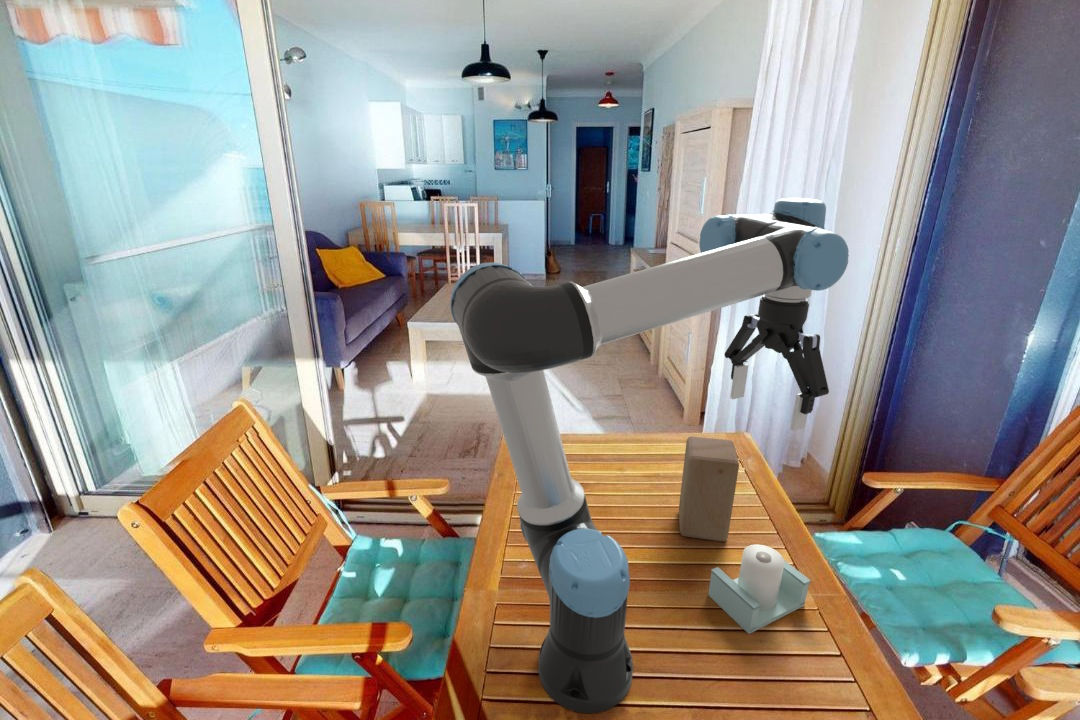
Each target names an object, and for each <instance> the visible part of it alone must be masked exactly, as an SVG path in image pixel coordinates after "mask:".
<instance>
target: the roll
mask: <svg viewBox="0 0 1080 720" xmlns="http://www.w3.org/2000/svg"><path fill="white" fill-rule="evenodd" d="M784 560H785V559H784V557H783V555H782V554H781V553H780V552H779V551H777V550H776V549H774V548H772V547H770V546H767V545H765V544H758V543H757V544H755V543H754V544H751V545H748V546H746V547H744V549H743V550H742V557H741V563H740V567H739V568H740V569H739V575H738V578H739V579H738V585H739V586H740V587H741V588H742V589H743V590H744V591H746V592H747V593H748V594H749V595H750V596H751V597H752V598H754V599H755V600H756V601H757V602H758V603H759V604H760V605H761V607H760V608H759V611H768V610H771V609H773V608H774V607H775V605H776V602H777V597H778V593H779V588H780V583H781V578H782V573H783V569H784V564H785V562H784Z"/></svg>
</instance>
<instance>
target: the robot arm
mask: <svg viewBox="0 0 1080 720" xmlns="http://www.w3.org/2000/svg"><path fill="white" fill-rule="evenodd" d="M826 214H827V206H826V204H825V203H824V202H823V201H822V200H819V199H814V198H803V197H802V198H801V197H789V198H786V197H785V198H779V199H777V200H776V201H775V203H774V207H773V209H772V212H770V213H762V214H761V213H757V214H754V213H753V214H749V213H748V214H731V213H727V214H726V215H724V214H722V215H714V216H712V217H710V218H708V219H707V220H706V221H705V223H704V224H703V226H702V228H701V230H700V234H699V243H698V244H699V250H700V251H699V252H700V253H697V254H692V255H689V256H687V257H682V258H680V259H679V258H678V259H676V260H672V261H668V262H666V263H661V264H659V265H655V266H651V267H648V268H645V269H640V270H638V271H634V272H630V273H627V274H624V275H620V276H619V275H618V276H616V277H612V278H608V279H606V280H602V281H599V282H595V283H592V284H588V285H584V286H580V285H579V284H577V283H575V282H573V281H567V282H564V283H559V284H556V285H551V286H534V285H532V284H531V282H529V281H528V280H527V279H526V278H525V276H524V275H523V274H522V273H521V272H520V271H519V270H518V269H516V268H513V267H512V266H510V265H506V264H503V263H500V262H491V261H490V262H484V263H480V264H476V265H474V266H472V267H470V268H469V269H467V270H466V271H465V272H464V273H462V274H461V275H460V276H459V278H458V279H457V280H456V282H455V283H454V285H453V287H452V291H451V294H450V312H451V315H452V318H453V320H454V322H455V323H456V325H457V326H458V329H459V332H460V335H461V338H462V342H463V344H464V348H465V351H466V354H467V356H468V360H469V363H470V366H471V369H472V370H473V372H474V373H476V374H478V375H480V376H483V377H485V379H486V383H487V386H488V388H489V392H490V395H491V399H492V402H493V405H494V409H495V411H496V414H497V418H498V422H499V425H500V428H501V431H502V433H503V437H504V440H505V444H506V446H507V450H508V454H509V456H510V461H511V464H512V467H513V469H514V472H515V476H516V479H517V483H518V486H519V488H520V491H521V494H520V495H519V497H518V500H517V502H516V504H517V505H516V510H517V513H518V517H519V522H520V530H521V533H522V535H523V538H524V540H525V541H526V542H527V545H528V547H529V550H530V553H531V554H532V558H533V560H534V562H535V564H536V568H537V570H538V572H539V576H540V577H541V580H542V582H543V585H544V587H545V590H546V592H547V593H546V594H547V595H548V601H549V629H548V632H547V634H546V637H545V638H543V639H544V640H543V641H542V643H541V646H540V647H539V648H540V649H539V653H538V676H539V680H540V683H541V686H542V688H543V689H544V690H545V692H546V694H547V695H549V696H548V697H550V698H551V699H552V700H553V701H554V702H556V703H557V704H558V705H559V706H561V707H563V708H564V709H567V710H569V711H573V712H576V713H582V714H596V713H602V712H605V711H608V710H610V709H612V708H614V707H615V706H617V705H618V704H620V702H622V701H623V700H624V698H625V697H626V696H627V694H628V693H629V691H630V689H631V687H632V686H631V685H632V680H633V672H634V664H633V663H634V662H633V657H632V654H631V650H630V647H629V644H628V641H627V639H626V636H625V629H626V618H627V617H626V616H627V605H628V594H629V591H630V585H631V584H630V578H631V577H630V576H631V575H630V570H629V561H628V557H627V555H626V552H625V551H624V549H623V547H622V546H621V544H620V543H619V542H618V541H616V540H615V538H614V537H612V536H610V535H608V534H606V535H603V531H600V530H598V529H597V527H596V526H595V524H594V522H593V520H592V517H591V512H590V510H589V506H588V502H587V499H586V494H585V491H584V488H583V486H582V485H581V484H580V483H579V482H578V481H577V480H575V479H573V478H572V477H571V472H570V468H569V463H568V461H567V456H566V451H565V448H564V445H563V442H562V437H561V433H560V430H559V426H558V422H557V421H558V420H557V418H556V414H555V410H554V406H553V403H552V398H551V394H550V390H549V387H548V383H547V379H546V375H545V370H551V369H555V368H559V367H562V366H565V365H570V364H574V363H577V362H579V361H582V360H586V359H589V358H592V357H593V358H594V356H595V354H596V351H597V350H598V348H599V347H600V346H602V345H606V344H610V343H612V342H616V341H619V340H622V339H625V338H628V337H632V336H635V335H638V334H641V333H644V332H647V331H651V330H655V329H658V328H661V327H663V326H667V325H670V324H674V323H677V322H680V321H684V320H686V319H689V318H692V317H697V316H700V315H703V314H706V313H709V312H712V311H716V310H719V309H723V308H726V307H729V306H732V305H735V304H738V303H742V302H745V301H748V300H751V299H754V298H758V297H760V298H759V306H758V311H757V313H752V314H746V315H744V316H743V319H742V323H741V327H740V328H739V329H738V332H737V333H736V334H735V336H734V338H733V339H732V341H731V342H730V344H729V346H728V347H727V349H726V351H725V352H724V357H725V358H726V359H729V360H730V362H731V364H732V365H731V372H730V379H731V380H732V382H731V388H730V389H731V390H730V395H729V396H730V399H732V400H736V399H741V398H744V396H745V391H746V384H747V378H748V371H749V366H750V365H749V364H748V360H749V359H750V358H752V357H753V356H754V355H755V354H757V353H758V352H759V351H760V350H761V349H762V348H763V347H764V348H765V349H768V350H769V349H770V350H773V351H774V352H775V353H778V354H782V357H783V358H784V359H785V360H787V364H788V365H789V368H790V370H791V372H792V374H793V377H794V379H795V381H796V383H797V385H798V388H799V391H800V393H796V397H795V401H794V407H793V411H792V417H791V422H790V428H789V429H790V431H793V432H795V431H796V432H797V431H799V430H801V429H805V428H806V425H807V420H808V415H809V414H811V413H812V412H813V410H814V405H815V400H816V398H818V397H819V398H820V397H822V396H826V395H829V393H830V389H829V384H828V381H827V376H826V371H825V368H824V364H823V359H822V355H821V350H820V348H821V347H820V346H821V335H820V334H818V333H815V334H809V333H804V329H803V327H804V325H805V323H806V322H807V317H808V313H809V307H810V304H811V303H810V301H809V298H810V297H811V296H812V292H813V291H817V292H819V291H825V290H827V289H829V288H831V287H833V286H834V285H835V284H836V283H837V282H839V281H840V280H841V278H842V277H843V275H844V274H845V272H846V270H847V267H848V264H849V257H850V256H849V251H850V250H849V247H848V244H847V241H846V240H845V239H844V238H843V237H842V236H841V235H840V234H838V233H835V232H833V231H830V230H825V223H826V222H825V221H826ZM756 329H757V331H758V334H756V336H755V337H754V338H753V339H752V340H751V342H749V343H748V341H749V339H750V338H751V337H752V335H753V334H754V332H755V331H756ZM800 342H801V343H800ZM747 343H748V344H747ZM791 350H792V351H791Z"/></svg>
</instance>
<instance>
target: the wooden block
mask: <svg viewBox="0 0 1080 720" xmlns="http://www.w3.org/2000/svg"><path fill="white" fill-rule="evenodd" d="M734 442H735V441H733V440H730V439H721V438H715V437H714V438H712V437H705V436H704V437H701V436H694V435H693V436H688V437H687V439H686V443H685V452H684V459H683V469H682V478H681V487H680V494H679V495H680V497H679V503H678V518H679V519H678V520H679V521H678V522H679V533H680V535H681V536H683V537H686V538H687V537H688V538H693V539H702V540H709V541H717V542H726V541H727V540H728V538H729V532H730V526H731V519H732V518H731V517H732V514H733V508H734V500H735V494H736V489H737V482H738V476H739V475H738V474H739V469H740V468H739V467H740V463H739V458H738V454H737V449H736V445H735V443H734Z"/></svg>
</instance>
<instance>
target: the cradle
mask: <svg viewBox="0 0 1080 720" xmlns="http://www.w3.org/2000/svg"><path fill="white" fill-rule="evenodd" d="M784 562H785V564H784V569H783V573H782V578H781V583H780V588H779V593H778V597H777V602H776V605H775V607H774V608H773V609H771V610H768V611H759V608H760V607H761V605H760V604H759V603H758V602H757V601H756V600H755V599H754V598H752V597H751V596H750V595H749V594H748V593H747V592H746V591H744V590H743V589H742V588H741V587H740V586H739V585H738V579H739V577H737V578H734V579H732V578H731V577H730V576H729V575H727V574H726V573H725V572H724V571H723V570H722V569H721V568H720V567H718V566H717V567H714V568H712V569H711V570H710V572H711V573H710V574H711V575H710V580H709V587H708V594H707V596H708V597H710V598H711V599H712V601H714V602H715V603H716V604H717V605H718V606H719V607H720V608H721V609H722V610H723V611H724V612H725V613H726V614H727V615H728V616H729V617H730V618H731V619H732V620H734V621H735V623H736V624H737V625H739V626H740V627H741V628H742V629H743V630H744V631H745V632H746V633H747V634H748V635H750V634H752V633H754V632H756V631H758V630H760V629H762V628H764V627H765V626H768V625H769V624H772V623H773V622H775V621H777V620H779V619H782V618H783V617H785V616H786V615H789V614H791V613H792V612H795V611H797V610H799V609H801V608H803V607H804V606H805V603H806V600H807V596H808V590H809V587H810V583H811V582H812V581H811V579H809V578H808V577H807V576H805V575H804V574H803V573H802V572H800V571H799V570H797V568H795V567H794V566H792V565H791V564H790V563H788V562H787V560H785V559H784Z"/></svg>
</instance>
